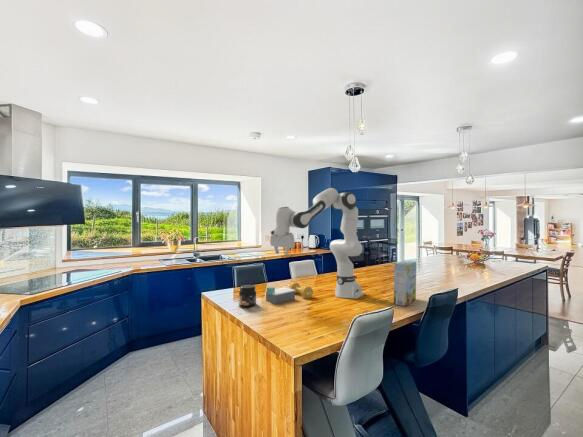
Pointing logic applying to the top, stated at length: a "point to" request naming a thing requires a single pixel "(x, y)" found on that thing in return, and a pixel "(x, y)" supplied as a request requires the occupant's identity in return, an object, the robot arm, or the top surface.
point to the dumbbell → (302, 290)
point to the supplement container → (247, 296)
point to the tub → (280, 297)
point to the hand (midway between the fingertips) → (281, 254)
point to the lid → (278, 290)
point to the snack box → (405, 282)
